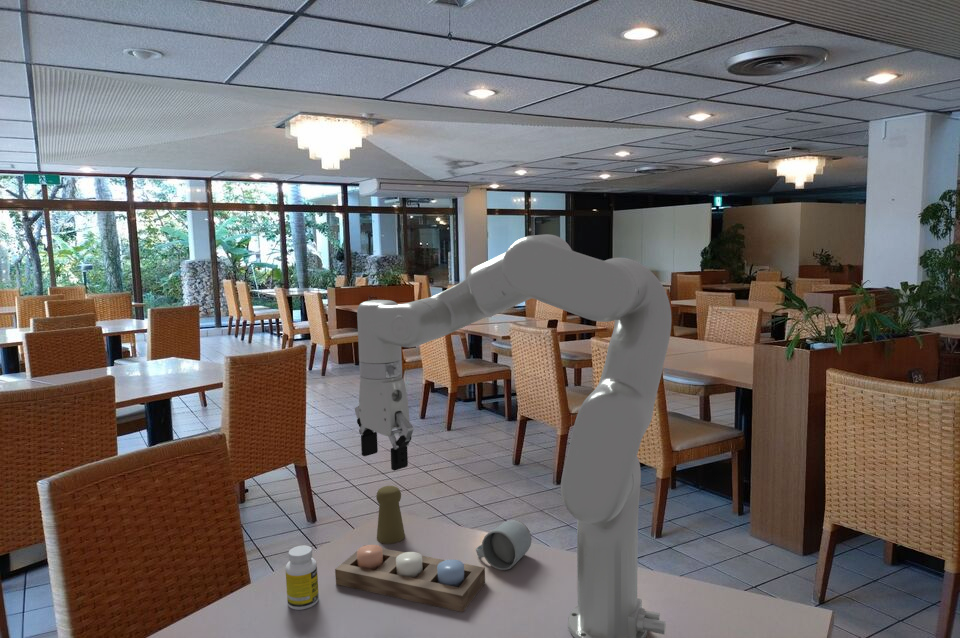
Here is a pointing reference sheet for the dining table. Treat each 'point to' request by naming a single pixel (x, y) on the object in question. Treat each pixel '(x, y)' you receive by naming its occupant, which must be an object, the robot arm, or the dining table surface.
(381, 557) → the pink rounded dome
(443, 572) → the blue rounded knob
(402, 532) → the olive game pawn
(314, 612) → the dining table surface
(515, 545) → the ceramic mug
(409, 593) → the wooden compartment tray
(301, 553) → the supplement bottle
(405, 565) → the cream button
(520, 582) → the dining table surface
